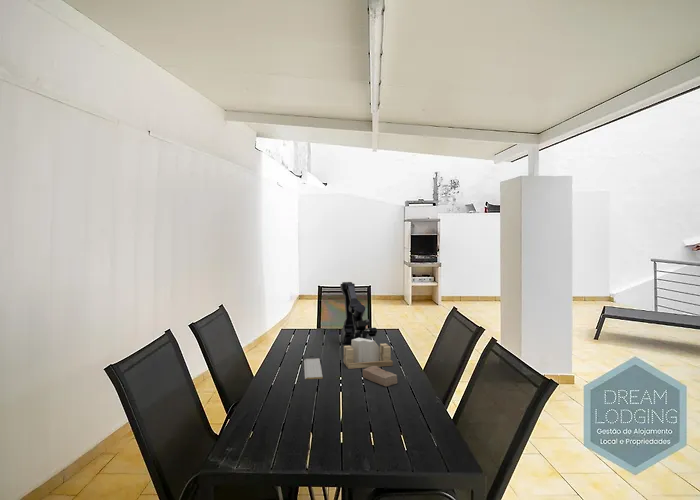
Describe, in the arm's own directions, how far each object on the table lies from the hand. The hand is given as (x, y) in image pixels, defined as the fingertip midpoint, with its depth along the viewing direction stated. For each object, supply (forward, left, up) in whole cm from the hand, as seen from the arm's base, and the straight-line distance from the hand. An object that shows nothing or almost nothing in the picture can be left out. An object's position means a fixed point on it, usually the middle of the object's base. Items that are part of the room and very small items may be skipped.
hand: (363, 345), depth 239 cm
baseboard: (-13, -30, -8) cm, 34 cm away
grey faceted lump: (+4, -4, -7) cm, 9 cm away
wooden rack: (+7, -7, -7) cm, 13 cm away
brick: (+25, -26, -8) cm, 36 cm away
